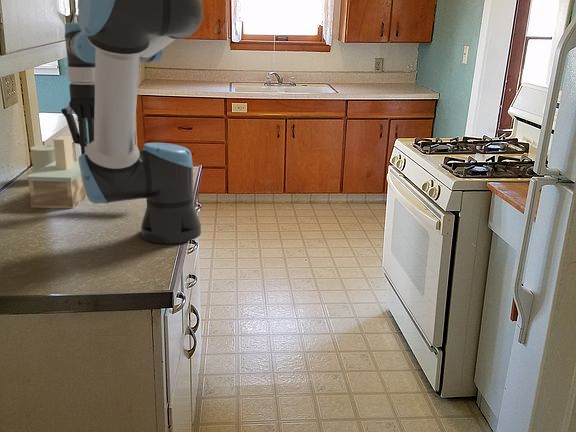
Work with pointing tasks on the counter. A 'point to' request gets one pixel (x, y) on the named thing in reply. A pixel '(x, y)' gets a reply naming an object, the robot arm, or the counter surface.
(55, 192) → the light wood open box
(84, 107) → the robot arm
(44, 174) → the lid
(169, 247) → the counter surface
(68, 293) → the counter surface
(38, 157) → the can
